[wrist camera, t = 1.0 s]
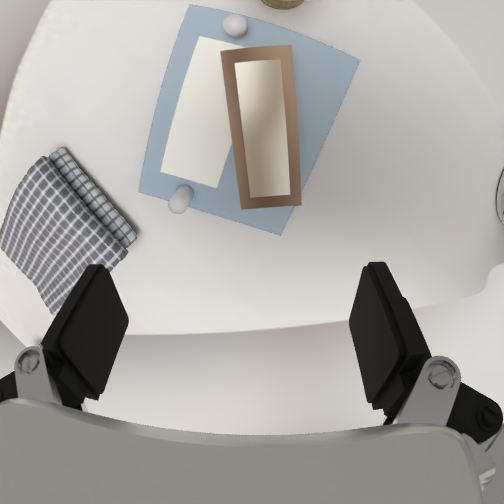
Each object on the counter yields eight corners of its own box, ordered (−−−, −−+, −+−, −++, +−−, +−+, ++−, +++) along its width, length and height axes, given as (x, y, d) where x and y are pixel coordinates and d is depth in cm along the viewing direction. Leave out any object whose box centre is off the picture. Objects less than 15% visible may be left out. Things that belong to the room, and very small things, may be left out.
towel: (147, 229, 33) (122, 270, 26) (79, 289, 39) (57, 325, 33) (64, 138, 26) (21, 162, 19) (14, 223, 33) (-16, 253, 26)
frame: (285, 50, 20) (291, 44, 16) (294, 182, 28) (301, 206, 24) (227, 55, 21) (220, 50, 16) (243, 186, 28) (241, 210, 24)
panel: (357, 60, 21) (371, 59, 18) (280, 231, 32) (282, 251, 29) (191, 6, 18) (180, -3, 15) (141, 189, 29) (127, 204, 26)
